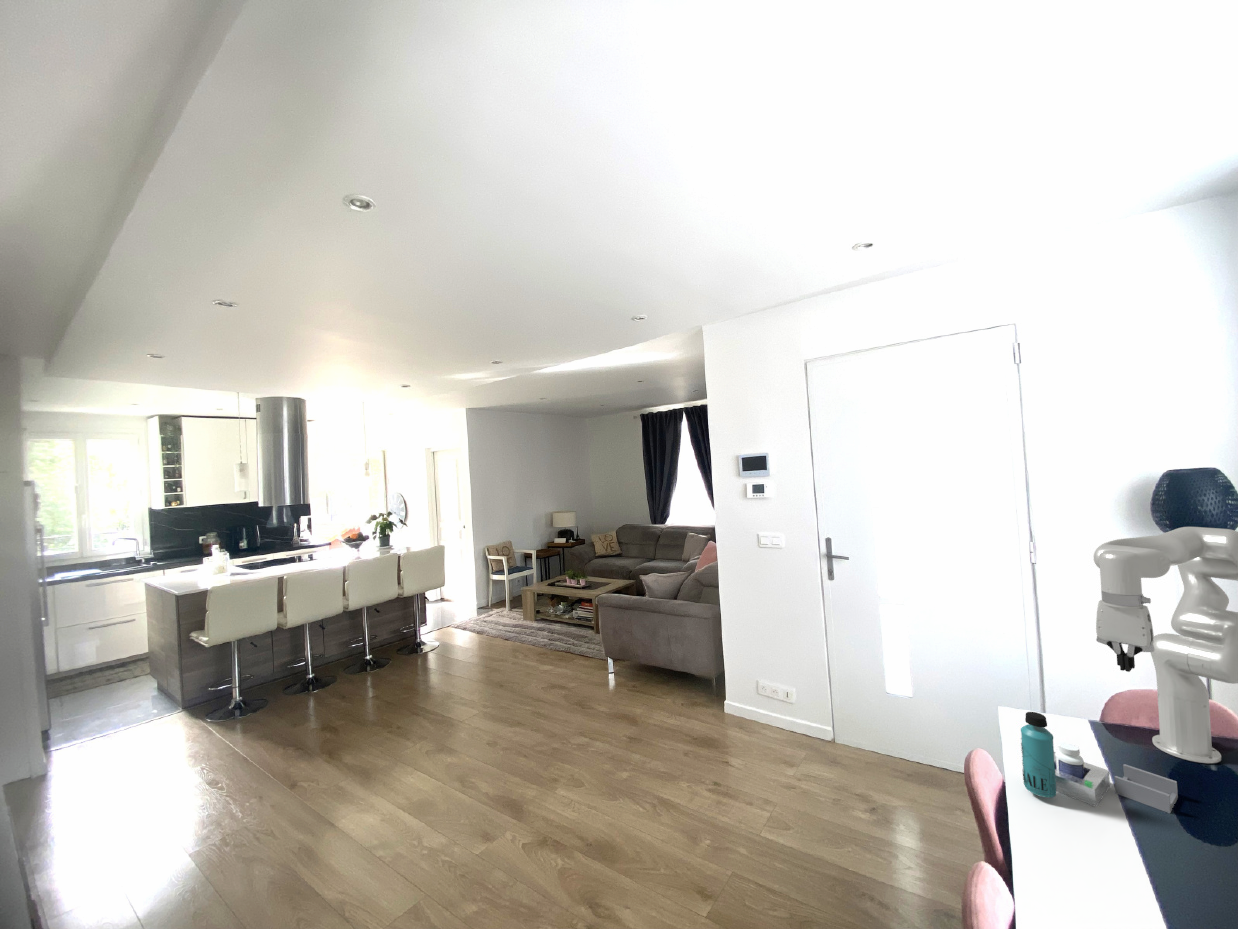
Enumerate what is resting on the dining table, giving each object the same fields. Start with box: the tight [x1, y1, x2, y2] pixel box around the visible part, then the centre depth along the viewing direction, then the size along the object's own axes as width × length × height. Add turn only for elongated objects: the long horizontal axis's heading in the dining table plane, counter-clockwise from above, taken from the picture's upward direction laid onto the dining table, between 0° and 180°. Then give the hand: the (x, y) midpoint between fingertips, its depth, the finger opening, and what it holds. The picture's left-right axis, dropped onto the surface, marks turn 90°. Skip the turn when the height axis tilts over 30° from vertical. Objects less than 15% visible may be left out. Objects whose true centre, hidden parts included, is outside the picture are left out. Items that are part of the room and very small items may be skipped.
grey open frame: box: [1114, 763, 1179, 814], centre depth 122 cm, size 9×9×4 cm
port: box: [1054, 751, 1111, 807], centre depth 127 cm, size 12×12×5 cm
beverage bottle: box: [1020, 711, 1057, 798], centre depth 123 cm, size 6×7×20 cm
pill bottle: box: [1055, 741, 1085, 779], centre depth 127 cm, size 5×5×10 cm
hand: (1126, 669), depth 130 cm, fingers closed
